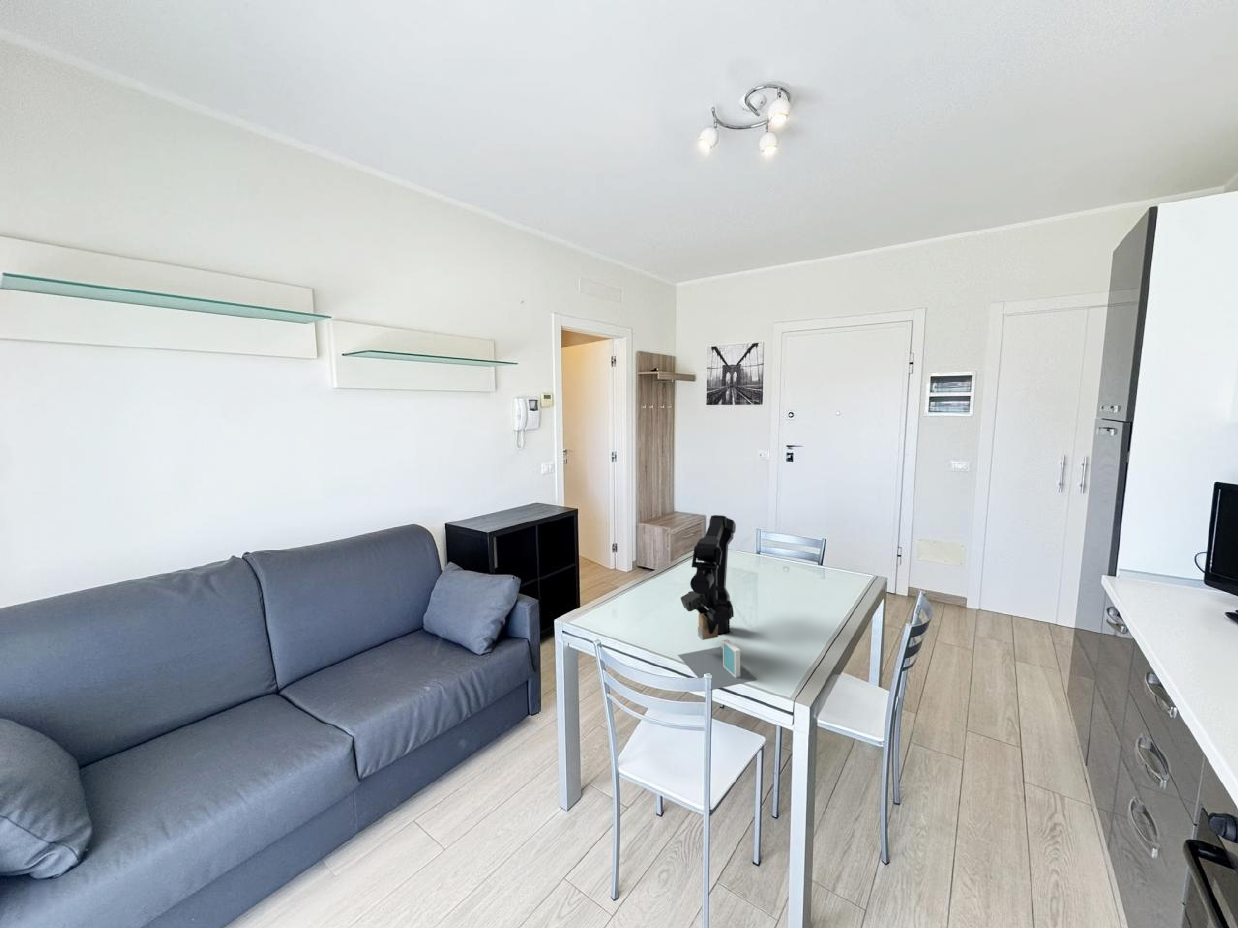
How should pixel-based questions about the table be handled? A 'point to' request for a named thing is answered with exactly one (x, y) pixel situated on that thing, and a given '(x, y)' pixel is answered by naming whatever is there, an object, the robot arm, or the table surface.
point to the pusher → (705, 628)
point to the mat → (714, 667)
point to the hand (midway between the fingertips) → (708, 631)
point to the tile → (731, 658)
